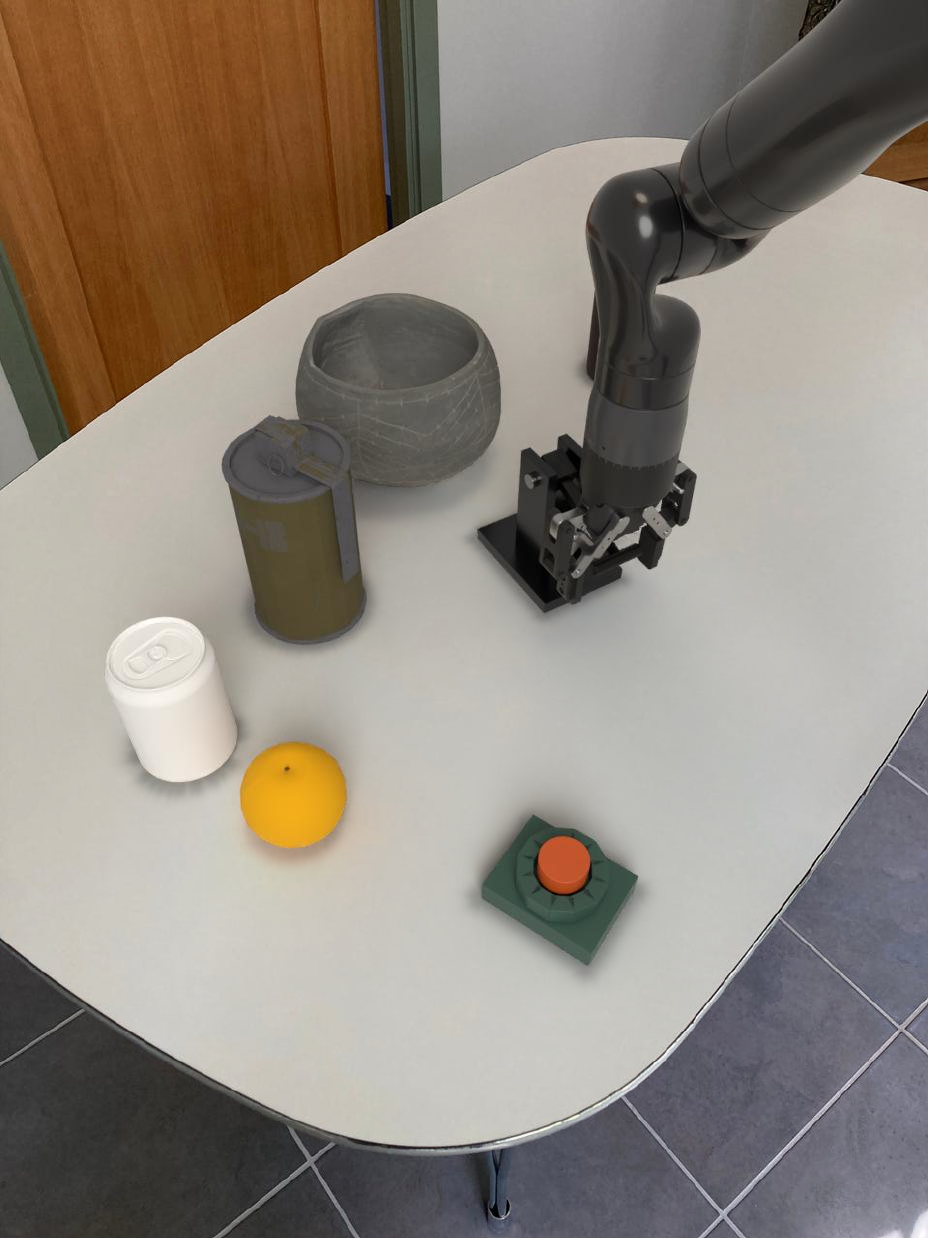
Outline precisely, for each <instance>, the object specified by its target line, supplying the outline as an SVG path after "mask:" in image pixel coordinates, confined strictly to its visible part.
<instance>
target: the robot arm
mask: <svg viewBox="0 0 928 1238" xmlns="http://www.w3.org/2000/svg"><path fill="white" fill-rule="evenodd" d="M925 122H928V0H840V1H839V2H838V3H837V5H835V7H834V8H833V9H832V10H831V11H830V12H829V13H827V15H826V16H825V17H824V18H823V19H821V20H820V22H818V24H816V25H815V26H814V27H813V28H812V29H811V30H810V31H809V32H808V33H807V34H806V35H805V36H804V37H802V38H801V39H800V40H799V41H798V42H797V43H796V44H794V45H793V46H792V47H791V48H789V50H787V52H786V53H784V54H783V55H782V56H780V58H778V59H777V60H776V61H774V62H773V63H772V64H771V65H769V66H768V67H767V68H766V69H765V70H764V71H762V72H761V73H759V75H757V76H756V77H754V79H753V80H751V81H750V82H749V83H747V84H746V85H745V86H744V87H743V88H741V90H739V91H738V92H737V93H736V94H735V95H733V96H732V97H731V98H730V99H729V100H727V102H725V103H724V104H722V105H721V106H720V107H718V109H717V110H716V111H715V112H714V113H712V114H711V115H710V116H709V117H708V118H707V119H706V120H705V121H704V122H703V123H702V124H701V125H700V126H699V127H698V128H697V129H696V130H695V131H694V132H693V134H692V136H690V139H689V140H688V142H687V143H686V145H685V147H684V150H683V152H682V155H681V158H680V161H678V162H672V163H668V164H662V165H657V166H652V167H646V168H642V169H636V170H630V171H627V172H622V173H619V174H617V175H615V176H614V175H613V176H612V177H611V178H609V179H608V180H606V182H604V183H603V185H602V186H601V187H600V188H599V190H597V193H596V194H595V195H594V198H593V200H592V202H591V204H590V206H589V210H588V212H587V215H586V219H585V220H586V221H585V230H584V233H585V243H586V250H587V251H586V252H587V255H588V256H587V257H588V261H589V266H590V271H591V275H592V281H593V282H592V283H593V287H594V292H595V295H596V303H597V310H598V318H599V327H600V338H599V344H598V354H597V362H596V370H595V377H594V381H593V384H592V386H591V390H590V394H589V397H588V401H587V408H586V416H585V422H584V423H585V424H584V431H583V440H582V456H581V464H580V479H581V485H582V491H583V493H582V496H581V498H580V500H579V502H578V504H577V506H576V509H573V510H570V511H567V512H565V513H561V512H560V511H559V510H558V509H557V508H552V509H550V510H549V511H548V512H547V514H546V518H545V525H544V532H543V538H542V545H541V552H540V558H539V562H540V563H541V564H542V565H543V566H544V567H545V568H546V569H547V570H548V571H549V573H550V574H551V575H552V576H553V577H554V578H555V579H556V580H558V581H557V590H558V592H559V593H560V594H561V595H562V596H563V597H564V598H565V600H566V601H569V602H568V603H570V604H571V605H572V606H573V605H576V604H578V603H581V602H582V597H583V596H582V589H583V582H584V575H585V574H584V573H583V572H584V571H585V570H586V568H587V567H588V566H589V564H590V563H591V561H592V560H593V559H594V558H600V557H601V556H602V555H603V553H604V552H605V551H606V549H607V548H608V547H609V545H610V544H611V542H615V541H618V540H619V539H620V538H622V537H623V536H625V535H630V534H633V533H636V532H639V531H640V533H639V537H638V538H639V539H638V544H639V545H640V546H641V548H642V555H641V556H639V557H636V558H637V560H638V561H639V562H640V563H641V564H642V565H643V566H644V567H645V568H646V569H647V570H649V571H650V570H652V569H655V568H656V567H658V564H659V561H660V560H661V558H662V556H663V550H664V547H665V543H666V539H667V538H668V537H669V536H670V535H671V534H672V532H673V528H674V527H675V526H678V527H683V526H685V525H686V524H687V523H688V522H689V520H690V516H691V510H692V505H693V500H694V493H695V488H696V483H697V478H698V474H697V473H696V472H694V471H693V470H692V469H691V468H690V467H689V466H688V465H686V464H685V463H684V462H683V461H681V460H680V454H681V450H682V445H683V441H684V440H683V439H684V436H685V431H686V428H687V427H686V426H687V421H688V415H689V406H690V405H689V404H690V403H689V402H690V391H691V387H692V382H693V378H694V373H695V367H696V363H697V358H698V353H699V347H700V343H701V336H702V335H701V334H702V327H701V321H700V317H699V315H698V313H697V312H696V311H695V309H694V308H693V307H692V306H691V305H689V304H688V303H687V302H685V301H684V300H681V299H679V298H676V297H674V296H671V295H666V294H661V293H656V292H655V290H656V291H657V287H658V286H660V285H665V284H669V283H672V282H677V281H681V280H685V279H689V278H693V277H698V276H703V275H706V274H710V273H713V272H717V271H720V270H722V269H724V268H726V267H728V266H731V265H732V264H734V263H737V262H738V261H740V260H742V259H743V258H745V257H746V256H747V255H749V254H750V253H751V252H752V251H754V249H755V248H756V247H757V246H758V245H759V244H761V242H762V241H763V240H764V239H765V238H766V237H767V236H768V235H769V234H770V232H771V231H772V230H773V229H774V228H776V227H777V226H780V225H781V224H784V223H785V222H787V221H789V220H790V219H792V218H794V217H795V216H797V215H799V214H800V213H802V212H804V211H806V210H807V209H810V208H811V207H813V206H815V205H816V204H818V203H820V202H821V201H823V200H825V199H827V198H828V197H829V196H831V195H833V194H834V193H836V192H837V191H839V190H840V189H842V188H844V187H845V186H846V185H848V184H849V183H851V182H852V181H853V180H854V179H856V178H857V177H859V176H860V175H861V174H862V173H863V172H865V171H866V170H867V169H868V168H869V167H870V166H871V165H872V164H873V163H875V162H876V161H877V159H878V158H879V157H881V155H882V154H883V153H884V152H885V151H886V150H887V149H888V148H889V147H890V146H891V145H893V144H894V143H895V142H896V141H897V140H899V139H900V138H902V137H903V136H905V135H906V134H909V132H910V131H912V130H914V129H915V128H917V127H919V126H921V125H923V124H924V123H925ZM654 292H655V294H654ZM660 503H661V505H660V510H659V511H658V510H657V509H656V508H657V507H658V506H659V504H660ZM644 524H646V525H644ZM587 527H588V528H589V529H590V530H591V531H592V532H593V533H594V534H595V535H596V536H597V537H598V539H597V541H596V542H595V543H593V542H592V541H591V540H590V539H589V538H588V537H587V536H586V535H585V532H586V531H587V530H586V528H587ZM578 547H580V548H581V550H582V554H581V555H580V557H579V558H578V559H577V560H576V559H575V558H574V557H573V556H572V555H573V554H574V552H575V551H576V549H577V548H578Z"/></svg>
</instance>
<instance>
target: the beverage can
mask: <svg viewBox="0 0 928 1238" xmlns="http://www.w3.org/2000/svg"><path fill="white" fill-rule="evenodd" d="M105 660H106V661H105V665H104V671H103V672H104V681H105V686H106V689H107V690H108V692H109V694H110V697H111V699H112V701H113V703H114V706H115V708H116V710H117V712H118V715H119V717H120V720H121V722H122V724H123V726H124V728H125V731H126V733H127V735H128V738H129V739H130V742H131V744H132V746H133V748H134V749H133V750H134V751H135V753H136V755H137V757H138V759H139V762H140V764H141V766H142V767H143V768H144V770H145V771H146V772H148V773H149V774H151V776H153V777H154V778H157V779H159V780H162V781H164V782H171V783H186V782H193V781H197V780H200V779H202V778H204V777H207V776H209V775H211V774H212V773H214V772H215V771H217V770H218V769H220V768H221V767H222V766H223V765H224V764H225V763H226V762H227V761H228V760H229V758H230V757H231V755H232V754H233V752H234V750H235V747H236V745H237V742H238V727H237V722H236V719H235V716H234V712H233V709H232V706H231V702H230V699H229V695H228V692H227V689H226V686H225V682H224V678H223V675H222V671H221V668H220V665H219V662H218V661H219V660H218V658H217V654H216V650H215V648H214V646H213V643H212V641H210V639H209V637H207V636H206V634H205V633H203V632H202V631H201V630H200V629H199V628H198V627H197V626H196V625H194V624H193V623H192V622H190V621H188V620H186V619H184V618H180V617H175V616H156V617H150V618H147V619H143V620H140V621H137V622H136V623H133V624H132V625H130V626H128V627H127V628H125V629H124V630H123V631H122V632H120V633H119V634H118V635H116V637H115V638H114V639H113V641H112V642H111V644H110V645H109V648H108V650H107V653H106V657H105Z"/></svg>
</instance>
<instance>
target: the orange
mask: <svg viewBox="0 0 928 1238" xmlns="http://www.w3.org/2000/svg"><path fill="white" fill-rule="evenodd" d="M347 798H348V793H347V781H346V778H345V774H344V773H343V771H342V769H341V767H340V764H339V762H337V760H336V758H334V756H332V755H330V753H328V752H327V751H326V750H324V748H322V747H319V746H317V745H314V744H311V743H308V742H302V741H287V742H281V743H278V744H275V745H273V746H271V747H268V748H266V749H264V750H263V751H262V752H260V753H259V754H258V755H256V756H255V757H254V758H253V760H252V761H251V763H250V764H249V765H248V767H247V768H246V770H245V772H244V775H243V778H242V781H241V784H240V788H239V805H240V810H241V813H242V815H243V817H244V820H245V823H246V825H247V827H248V828H249V829H251V831H252V832H253V833H254V834H255V835H256V836H257V837H258V838H259V839H261V840H262V841H265V842H267V844H268V843H269V844H271V845H272V846H276V848H277V847H278V848H286V849H298V848H304V847H309V846H311V845H313V844H316V843H318V842H320V841H322V840H324V838H326V837H327V836H328V835H329V834H331V833H332V832H333V831H334V830H335V828H336V827H337V825H338V823H339V822H340V820H341V819H342V818H343V815H344V811H345V807H346V803H347V800H348V799H347Z"/></svg>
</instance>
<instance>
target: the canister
mask: <svg viewBox="0 0 928 1238" xmlns="http://www.w3.org/2000/svg"><path fill="white" fill-rule="evenodd" d="M262 419H263V418H262ZM351 458H352V455H351V449H350V446H349V445H348V443H347V441H346V439H345V438H344V437H343V436H342V435H341V434H340V433H339V432H338V431H336V430H334V429H332V428H330V427H328V426H326V425H324V424H321V423H319V422H313V421H307V420H299V419H286V418H284V417H281V416H280V415H278V416H274V415H271V414H269V415H268V416H266V417H265V418H264V419H263V420H261V421H259V423H257V424H255V426H253V427H252V428H249V429H248V430H246V431H245V432H243V433H241V434H239V435H238V436H237V437H236V438H234V439H233V440H232V441H231V442H230V443H229V445H228V447H227V448H226V450H225V452H224V454H223V456H222V457H221V466H220V467H221V473H222V475H223V478H224V480H225V482H226V483H227V486H228V489H229V494H230V498H231V502H232V506H233V511H234V516H235V520H236V524H237V528H238V533H239V537H240V541H241V545H242V550H243V555H244V559H245V563H246V567H247V571H248V576H249V580H250V584H251V589H252V593H253V598H254V613H255V616H256V620H257V622H258V623H259V625H260V626H261V628H262V629H263V630H265V631H266V632H267V633H268V634H269V635H271V636H272V637H274V638H275V639H276V640H277V639H278V640H280V641H283V642H286V643H289V644H295V645H297V644H298V645H311V644H320V643H325V642H329V641H331V640H334V639H336V638H339V637H340V636H342V635H344V634H346V632H347V633H348V631H350V630H351V629H352V628H353V627H354V626H355V625H356V624H357V623H358V622H359V620H361V617H362V616H363V614H364V611H365V608H366V604H367V594H366V589H365V587H364V583H363V573H362V564H361V555H360V545H359V544H360V543H359V535H358V526H357V517H356V507H355V497H354V487H353V478H352V476H351V468H350V466H351Z"/></svg>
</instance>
